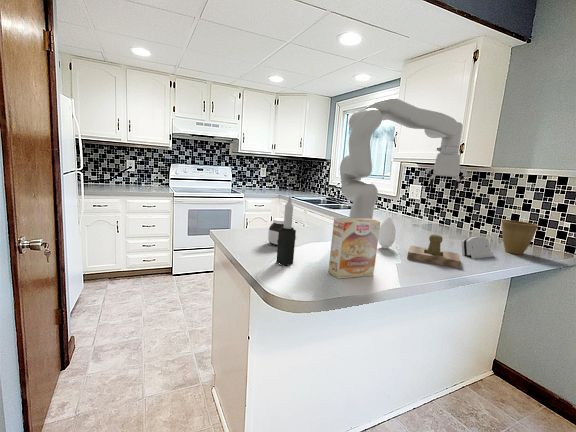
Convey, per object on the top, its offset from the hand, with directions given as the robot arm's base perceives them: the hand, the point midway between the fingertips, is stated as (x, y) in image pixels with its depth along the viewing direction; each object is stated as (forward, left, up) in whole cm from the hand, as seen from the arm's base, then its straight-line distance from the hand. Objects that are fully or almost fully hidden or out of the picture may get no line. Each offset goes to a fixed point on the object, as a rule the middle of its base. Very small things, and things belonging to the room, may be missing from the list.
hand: (443, 189), depth 144 cm
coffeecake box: (-26, -54, -31) cm, 67 cm away
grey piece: (+19, +12, -31) cm, 38 cm away
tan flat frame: (0, -12, -30) cm, 33 cm away
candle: (-50, -58, -31) cm, 82 cm away
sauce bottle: (-21, -7, -31) cm, 38 cm away
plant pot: (+38, +33, -31) cm, 59 cm away
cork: (0, -12, -31) cm, 33 cm away
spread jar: (-63, -34, -31) cm, 78 cm away
